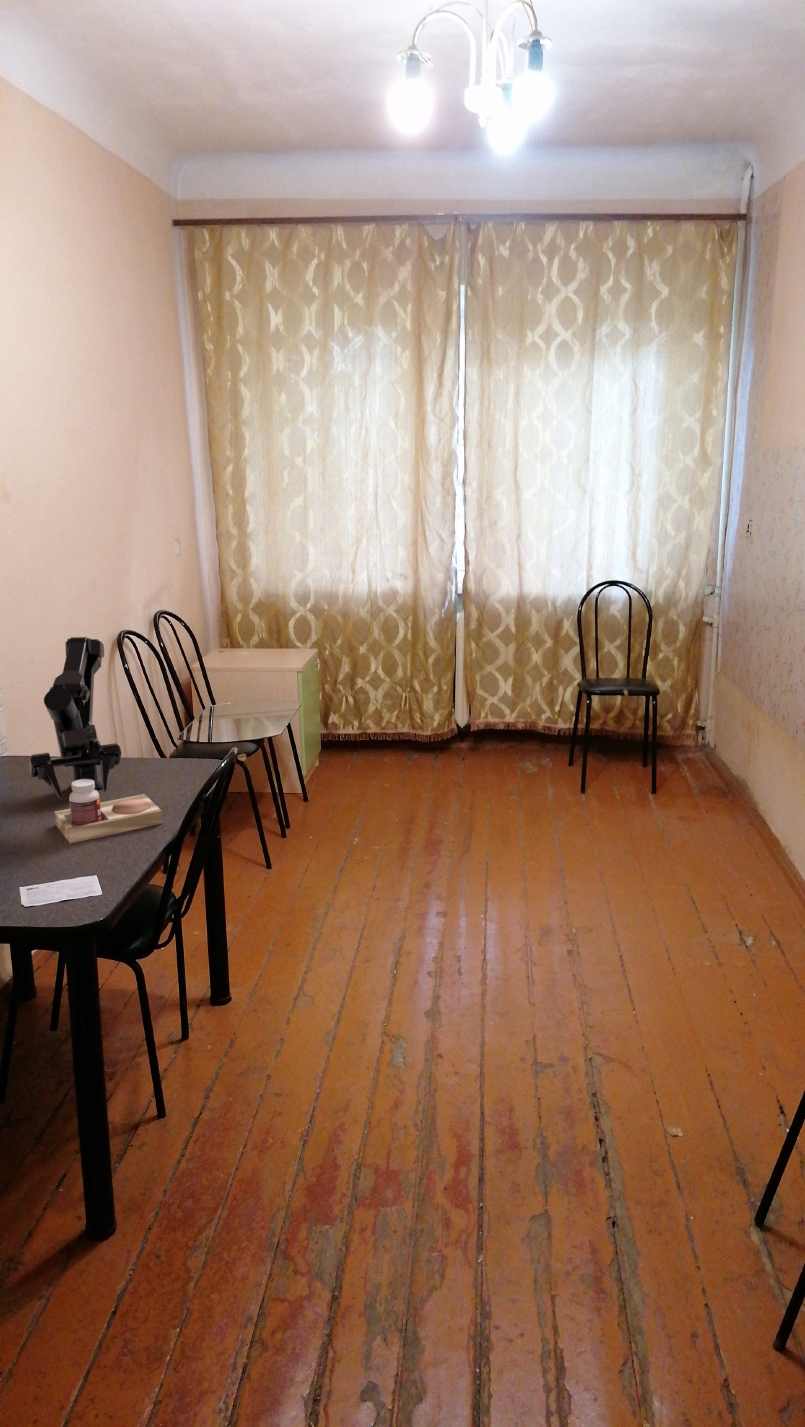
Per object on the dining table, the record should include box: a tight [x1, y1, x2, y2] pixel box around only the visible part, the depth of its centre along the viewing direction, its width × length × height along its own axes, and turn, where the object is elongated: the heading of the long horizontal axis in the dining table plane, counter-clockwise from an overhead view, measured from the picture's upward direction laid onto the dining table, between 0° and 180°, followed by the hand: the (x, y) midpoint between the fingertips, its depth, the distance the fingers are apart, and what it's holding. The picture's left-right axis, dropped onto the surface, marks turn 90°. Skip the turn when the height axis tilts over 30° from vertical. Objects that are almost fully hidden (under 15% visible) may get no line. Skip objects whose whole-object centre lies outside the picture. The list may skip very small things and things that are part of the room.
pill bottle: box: [68, 779, 102, 827], centre depth 205 cm, size 6×6×11 cm
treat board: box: [53, 793, 164, 844], centre depth 210 cm, size 12×20×3 cm, turn 123°
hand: (83, 794), depth 205 cm, fingers open, 9 cm apart
